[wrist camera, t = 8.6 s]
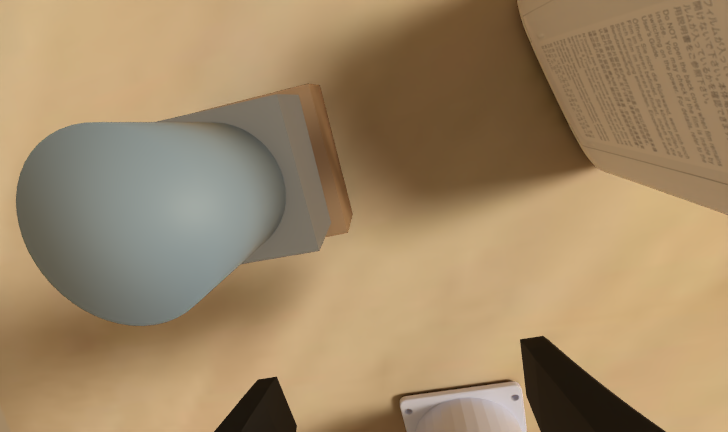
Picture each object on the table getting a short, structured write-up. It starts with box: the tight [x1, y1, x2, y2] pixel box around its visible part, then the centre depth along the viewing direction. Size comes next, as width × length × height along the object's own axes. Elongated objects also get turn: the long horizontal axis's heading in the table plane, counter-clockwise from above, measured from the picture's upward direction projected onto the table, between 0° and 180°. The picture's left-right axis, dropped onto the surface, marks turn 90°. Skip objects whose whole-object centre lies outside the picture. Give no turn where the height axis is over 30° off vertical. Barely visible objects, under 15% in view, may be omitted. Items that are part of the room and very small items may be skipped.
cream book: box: [517, 0, 728, 215], centre depth 11 cm, size 10×4×12 cm, turn 34°
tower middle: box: [158, 94, 331, 264], centre depth 15 cm, size 6×6×3 cm
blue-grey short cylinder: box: [16, 122, 286, 326], centre depth 10 cm, size 5×5×5 cm
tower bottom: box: [196, 84, 353, 237], centre depth 18 cm, size 7×7×3 cm
